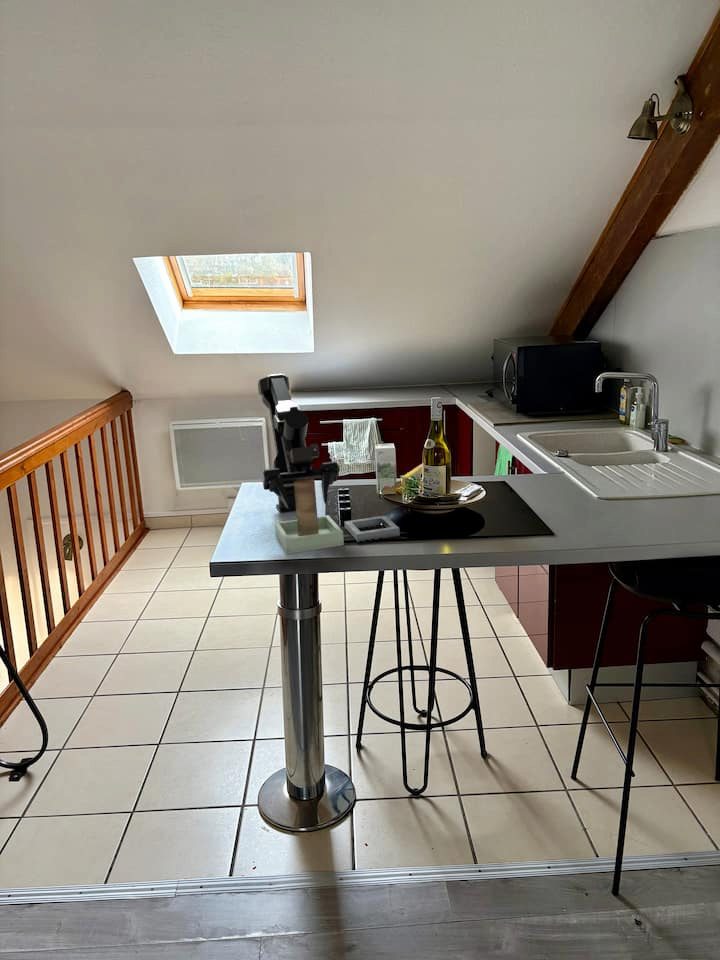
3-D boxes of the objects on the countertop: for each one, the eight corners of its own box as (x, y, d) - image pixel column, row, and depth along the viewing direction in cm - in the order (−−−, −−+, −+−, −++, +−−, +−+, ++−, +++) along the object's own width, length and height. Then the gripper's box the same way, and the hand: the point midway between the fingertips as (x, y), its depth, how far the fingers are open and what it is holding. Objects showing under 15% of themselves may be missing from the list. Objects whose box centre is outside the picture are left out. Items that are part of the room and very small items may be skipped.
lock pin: (301, 532, 186) (297, 478, 182) (321, 533, 185) (316, 478, 181) (296, 539, 181) (291, 484, 178) (315, 539, 180) (311, 484, 177)
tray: (275, 535, 188) (274, 522, 187) (329, 527, 192) (328, 515, 191) (286, 553, 175) (285, 539, 174) (343, 545, 179) (342, 531, 178)
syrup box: (395, 489, 223) (393, 442, 220) (397, 495, 218) (395, 446, 214) (376, 490, 223) (374, 443, 219) (377, 496, 217) (375, 447, 214)
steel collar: (344, 528, 190) (344, 521, 190) (385, 522, 193) (385, 515, 193) (357, 542, 180) (356, 534, 180) (399, 535, 183) (399, 528, 183)
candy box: (408, 505, 207) (407, 477, 205) (401, 505, 208) (400, 476, 206) (428, 490, 221) (427, 463, 219) (421, 489, 222) (421, 462, 220)
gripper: (259, 437, 178) (270, 493, 171) (335, 429, 182) (349, 483, 175) (258, 462, 187) (268, 516, 180) (330, 454, 192) (343, 506, 184)
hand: (307, 505), depth 180 cm, fingers open, 9 cm apart
